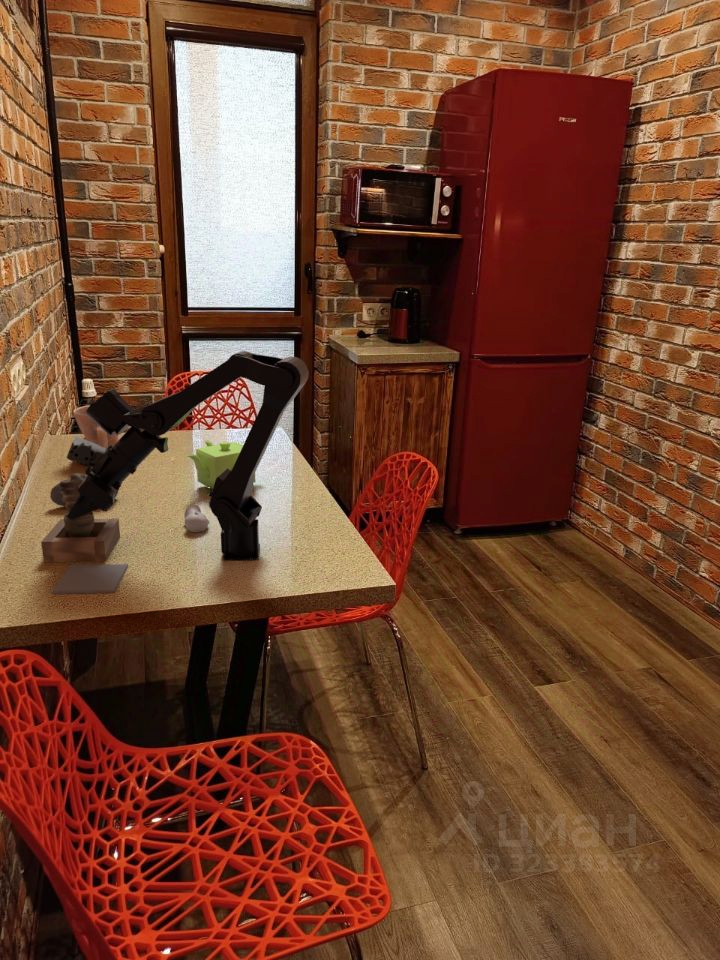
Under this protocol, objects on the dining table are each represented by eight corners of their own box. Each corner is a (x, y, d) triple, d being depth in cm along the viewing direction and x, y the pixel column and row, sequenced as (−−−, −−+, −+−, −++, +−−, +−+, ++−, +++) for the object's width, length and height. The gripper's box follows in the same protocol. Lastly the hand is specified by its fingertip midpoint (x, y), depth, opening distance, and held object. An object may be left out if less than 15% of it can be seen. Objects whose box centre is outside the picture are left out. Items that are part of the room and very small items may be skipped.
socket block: (120, 537, 138) (118, 518, 136) (106, 561, 127) (103, 541, 126) (62, 538, 137) (60, 519, 135) (43, 562, 126) (41, 541, 125)
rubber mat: (128, 566, 125) (127, 564, 125) (114, 592, 116) (114, 589, 116) (70, 567, 124) (70, 564, 124) (52, 593, 115) (52, 591, 115)
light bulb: (89, 540, 136) (81, 467, 130) (105, 548, 132) (97, 474, 127) (62, 549, 131) (52, 474, 126) (77, 558, 128) (68, 481, 123)
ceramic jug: (75, 453, 191) (70, 403, 187) (130, 450, 196) (126, 400, 191) (73, 473, 175) (66, 418, 171) (133, 468, 180) (128, 415, 175)
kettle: (187, 496, 161) (184, 449, 158) (202, 477, 175) (200, 434, 171) (251, 498, 161) (250, 451, 157) (261, 479, 174) (260, 436, 171)
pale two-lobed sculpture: (207, 539, 141) (182, 533, 139) (205, 523, 148) (181, 518, 147) (212, 520, 140) (187, 514, 138) (211, 505, 147) (187, 500, 146)
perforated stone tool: (52, 512, 150) (48, 482, 147) (51, 504, 154) (47, 474, 152) (124, 503, 156) (122, 474, 154) (121, 496, 160) (118, 467, 158)
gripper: (99, 412, 133) (44, 469, 134) (85, 437, 116) (22, 502, 117) (144, 450, 138) (91, 505, 139) (138, 479, 120) (77, 542, 121)
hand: (71, 512), depth 129 cm, fingers closed on light bulb, 5 cm apart
